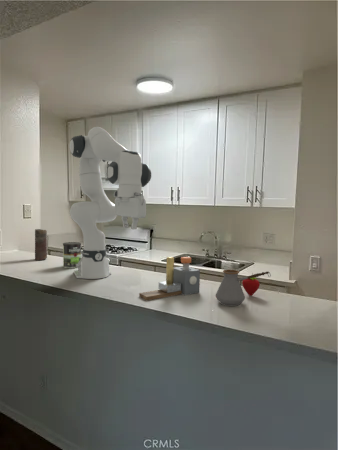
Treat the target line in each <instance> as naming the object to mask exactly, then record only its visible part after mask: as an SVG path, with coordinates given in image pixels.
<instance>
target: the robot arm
mask: <svg viewBox="0 0 338 450" xmlns="http://www.w3.org/2000/svg"><path fill="white" fill-rule="evenodd" d="M69 151H70V154H71V155H72V157H75V158H78V159H79V166H78V173H79V183H80V184H79V185H80V190H81V192H82V194H84V195H86V196H87V197H88V198H89V199H90V201H78V202H74V203H73V204H71V207H70V209H69V216H70V219H72V220H73V222H74V223H76V224H77V225H78V227H79V228H80V230H81V233H82V240H83V241H82V242H83V249H82V251H81V259H80V261H79V262H78V264H76V268H75V270H73V274H74V275H75V278H76V279H84V280H85V279H88V280H97V279H103V278H106V277H109V276H110V275H112V272H111V271H110V265H109V258H107V257H106V256H107V249H106V234H105V233H104V232H103V231H102V230H101V229H99V228H98V226H97V224H98V223H100V224H101V223H109V222H113V221H114V220H116V218H117V217H121V221H122V227H123V228H125V229H128V228H129V223H128V219H129V218H131V220H132V223H131V224H130V229H131V230H137V228H138V223H139V220H140V219H145V218H146V217H147V204H146V203H147V202H146V198H145V196H144V195H143V193H142V192H143V191H142V188H144V187H146V186H147V185H148V184H149V183H150V181H151V180H152V171H151V168H150V167H149V165H148V164H147V163H146V162H142V156H141V153H139V152H137V151H132V150H129V149H127V148H126V147H124V146H123V145H122V144H120V143H119V142H117V141H116V140H115V139H114V138H113V136H111V134H110V133H109V132H108V131H107V130H106V129H105V128H103V127H100V126H94V127H92V128H90V129H89V130H88V132H87V135H82V134H80V135H75V136H73V137H71V138H70V141H69ZM101 161H102V162H103V163H105V162H110V163H109V165H108V166H107V167H106V178H107V180H108V182H109V183H111V184H112V185H117V186H118V188H117V189H116V190H115V191H114V192H113V198H115V199H114V203H113V202H112V201H111V200H110V198H109V197H108V196H107V194H106V191H105V190H104V185H103V180H102V179H103V177H102V172H101V166H100V165H101V164H100V162H101Z"/></svg>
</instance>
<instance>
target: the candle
mask: <svg viewBox="0 0 338 450" xmlns="http://www.w3.org/2000/svg"><path fill="white" fill-rule="evenodd" d="M47 231H48V230H46V229H41V228H40V229H39V228H36V229H34V261H40V260H41V261H42V260H43V261H44V260H46V259H47V258H48V247H47V245H48V240H47V239H48V236H47V235H48V233H47Z"/></svg>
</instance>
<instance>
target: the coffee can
mask: <svg viewBox="0 0 338 450" xmlns="http://www.w3.org/2000/svg"><path fill="white" fill-rule="evenodd" d="M81 258H82V243H81V242H77V241H76V242H74V241H73V242H72V241H71V242H70V241H69V242H66V241H65V242H63V243H62V267H63V268H64V269H77V268H76V264H78V262H79V261H80V259H81Z"/></svg>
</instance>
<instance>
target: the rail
mask: <svg viewBox="0 0 338 450" xmlns="http://www.w3.org/2000/svg"><path fill="white" fill-rule="evenodd" d="M138 295H139V296H138V297H139V298H141V299H142V300H144V301H146V300H147V301H152V300H156V299H163V298H167V297H174V296H179V295H183V294H182V291H176V292H170V293H166V292H164V291H162V290H160V289H156V290H151V291H150V290H148V291H144V292H139V293H138Z"/></svg>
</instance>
